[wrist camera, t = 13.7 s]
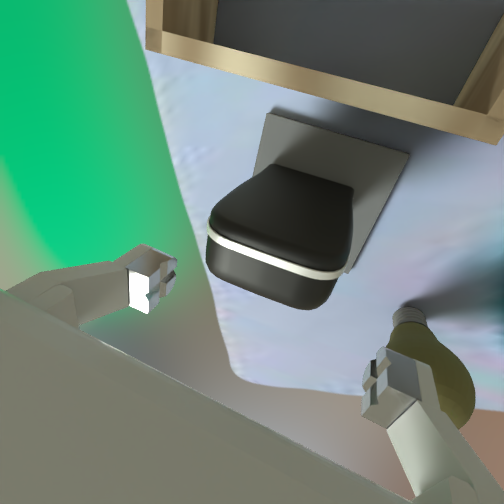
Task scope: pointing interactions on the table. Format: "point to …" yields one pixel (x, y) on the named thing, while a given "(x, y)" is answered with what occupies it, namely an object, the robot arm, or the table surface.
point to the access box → (330, 86)
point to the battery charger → (282, 236)
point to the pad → (335, 166)
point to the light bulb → (435, 363)
